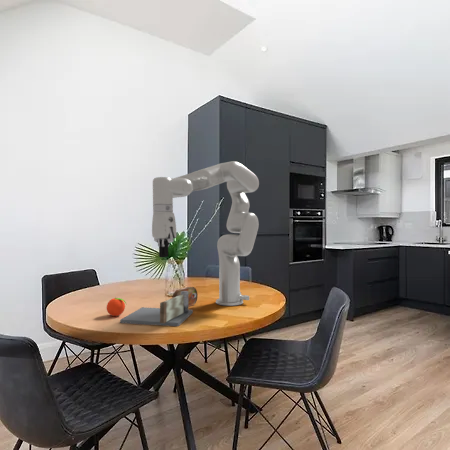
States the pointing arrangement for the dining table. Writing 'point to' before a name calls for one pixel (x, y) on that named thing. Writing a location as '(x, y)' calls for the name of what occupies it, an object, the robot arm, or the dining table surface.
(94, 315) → the dining table surface
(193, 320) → the dining table surface
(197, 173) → the robot arm
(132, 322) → the board
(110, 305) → the clementine
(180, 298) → the gate
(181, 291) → the post
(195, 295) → the tin
